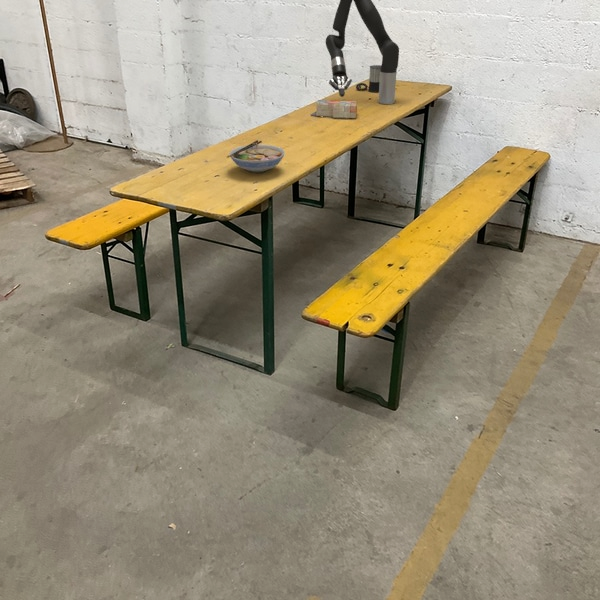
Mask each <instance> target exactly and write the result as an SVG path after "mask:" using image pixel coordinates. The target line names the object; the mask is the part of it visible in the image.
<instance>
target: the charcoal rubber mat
mask: <svg viewBox="0 0 600 600" xmlns="http://www.w3.org/2000/svg"><path fill="white" fill-rule="evenodd" d="M310 115H311V116H310V117H316V115H317V110H316V111H315V112H313V113H311V114H310ZM326 117H332V118H331V119H334V118H333V116H323V117H322V118H326ZM338 118H341V119H340V120H349V119H348V118H343V117H338Z"/></svg>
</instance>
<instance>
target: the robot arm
mask: <svg viewBox="0 0 600 600" xmlns="http://www.w3.org/2000/svg"><path fill="white" fill-rule="evenodd" d="M353 2H354V4H355V7H356V9H357V12H358V13H359V16H360V18H361V20H362V22H363V23H364V25H365V28H366V29H367V30H368V31H369V33H370V34H371V36H372V37H373V39H374V41H375V43H376V44H377V47H378V49H379V52H380V55H381V56H382V57H381V58H382V59H381V61H382V62H381V64H380V65H381V67H380V84H379V92H378V104H381V105H393V104H395V98H396V85H397V70H398V66H399V58H400V48H399V45H398V44H397V43H396V42H394V41H393V40H392V39H391V37H390V36H389V34H388V33H387V31H386V28H385V25H384V21H383V20H382V17H381V15H380V13H379V10H378V9H377V7H376V5H375V4H374V2H373V1H372V0H339V3H338V6H337V9H336V13H335V16H334V19H333V23H332V29H333V31H335V32H337V33H338V35H336V34H328V35H327V36H326V38H325V46H326V49H327V51H328V54H329V56H330V61H331V62H330V63H331V68H330V69H331V73H332V74H331V75H332V78H331V79H329V82H328V85H330V86H331V88H333V90H335V91H338V94H339V96H340V97H341V98H344V96H345V95H346V92H345V91H347V90H348V89H349V87H350V86H351V84H352V81H353V79H351V78H349V77H348V74H347V69H346V67H347V66H346V63H345V56H344V52H343V48H344V47H345V44H346V37H345V36H346V27H347V23H348V19H349V15H350V11H351V6H352V3H353ZM345 84H346V85H345Z"/></svg>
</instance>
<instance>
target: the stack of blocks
mask: <svg viewBox="0 0 600 600" xmlns="http://www.w3.org/2000/svg"><path fill="white" fill-rule="evenodd" d="M316 111H317V115H316V116H333V118H332V119H337V118H338V117H343V118H349V119H356V118H357V113H358V101H355V100H354V101H353V100H327V99H326V100H324V99H322V100H321V99H320V100H319V99H318V100H317V102H316ZM316 116H315V117H316Z"/></svg>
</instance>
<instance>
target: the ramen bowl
mask: <svg viewBox="0 0 600 600" xmlns="http://www.w3.org/2000/svg"><path fill="white" fill-rule="evenodd" d="M262 142H263V141H262V140H259V139H257V140H255V141H253V142H251V143H250V144H248V145H241V146H238V147H234V148H233V149H231V150H230V151H229V155H228V156H226V158H227V159H229V158H231V160H232V161H233V162H234V164H236V166H238V167H239V168H241V169H243V170H246V171H249V172H251V173H257V174H258V173H264V172H266V171H268V170H271V169H273V168H275V167H276V166H277V165H279V164H280V162H281V161H282V159H284V156H285V154H286V152H285V149H283V148H281V147H279V146H276V145H271V144H261V143H262Z"/></svg>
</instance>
